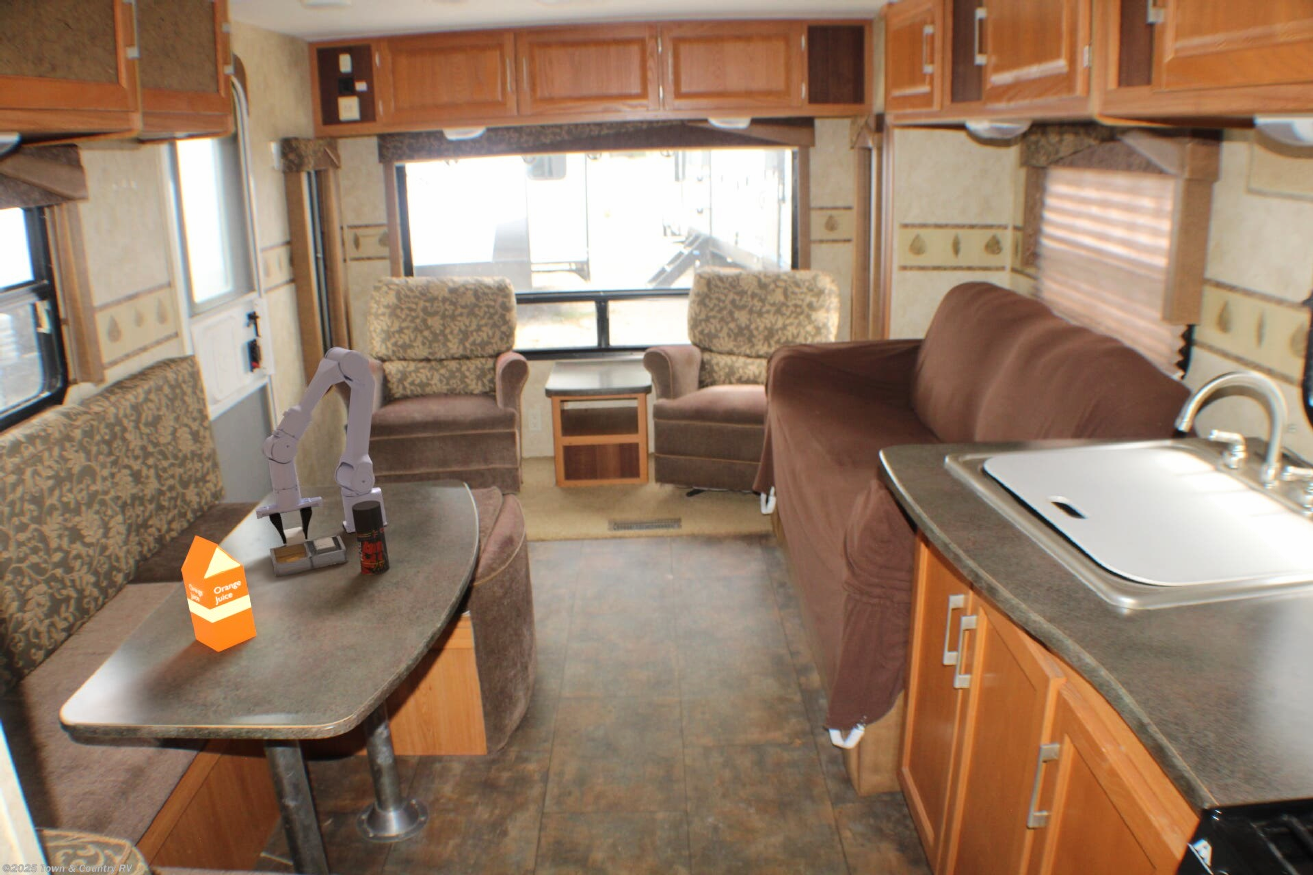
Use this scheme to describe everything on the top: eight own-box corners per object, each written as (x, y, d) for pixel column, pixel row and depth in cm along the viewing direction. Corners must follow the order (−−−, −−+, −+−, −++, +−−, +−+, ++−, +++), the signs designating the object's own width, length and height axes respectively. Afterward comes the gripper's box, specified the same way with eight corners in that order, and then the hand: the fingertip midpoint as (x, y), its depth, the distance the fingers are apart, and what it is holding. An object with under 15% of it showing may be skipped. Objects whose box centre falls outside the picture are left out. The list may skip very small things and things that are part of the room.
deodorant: (355, 572, 206) (345, 508, 202) (375, 562, 211) (365, 499, 207) (376, 576, 204) (366, 511, 200) (395, 566, 209) (386, 502, 205)
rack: (340, 545, 222) (338, 532, 221) (348, 561, 213) (345, 547, 212) (271, 560, 216) (269, 546, 215) (275, 577, 206) (273, 562, 205)
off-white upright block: (303, 540, 227) (300, 526, 226) (306, 548, 222) (304, 534, 221) (285, 543, 225) (283, 530, 224) (288, 552, 220) (286, 538, 219)
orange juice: (234, 623, 186) (215, 528, 180) (257, 635, 180) (238, 537, 175) (195, 639, 180) (174, 542, 174) (217, 652, 174) (196, 552, 169)
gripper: (316, 475, 226) (324, 528, 230) (251, 487, 220) (261, 541, 224) (320, 483, 220) (328, 537, 223) (253, 495, 214) (263, 551, 218)
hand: (295, 540), depth 223 cm, fingers closed on off-white upright block, 4 cm apart
